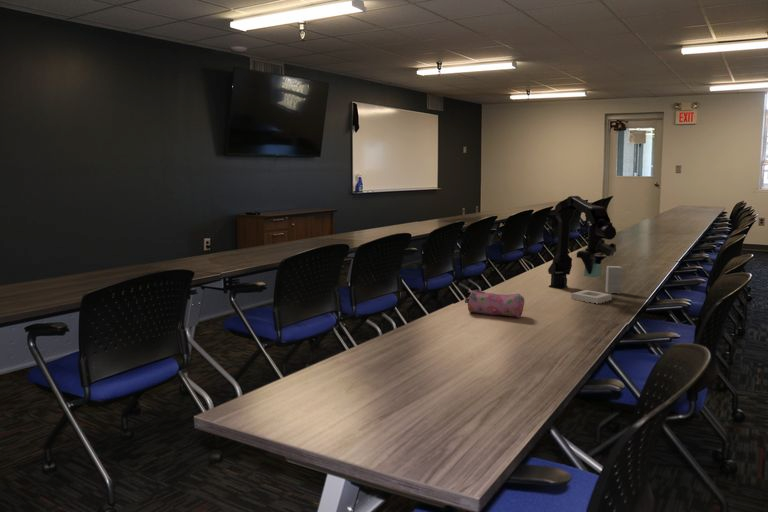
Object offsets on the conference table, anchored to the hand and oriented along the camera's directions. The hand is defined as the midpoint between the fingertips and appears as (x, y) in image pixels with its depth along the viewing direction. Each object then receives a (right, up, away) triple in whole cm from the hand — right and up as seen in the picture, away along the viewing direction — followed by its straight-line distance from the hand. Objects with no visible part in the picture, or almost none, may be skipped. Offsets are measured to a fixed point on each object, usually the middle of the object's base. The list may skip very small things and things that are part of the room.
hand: (592, 273), depth 258 cm
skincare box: (+15, -10, +16) cm, 24 cm away
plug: (0, -1, 0) cm, 1 cm away
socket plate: (0, -11, +2) cm, 12 cm away
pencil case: (-47, -15, -26) cm, 56 cm away
